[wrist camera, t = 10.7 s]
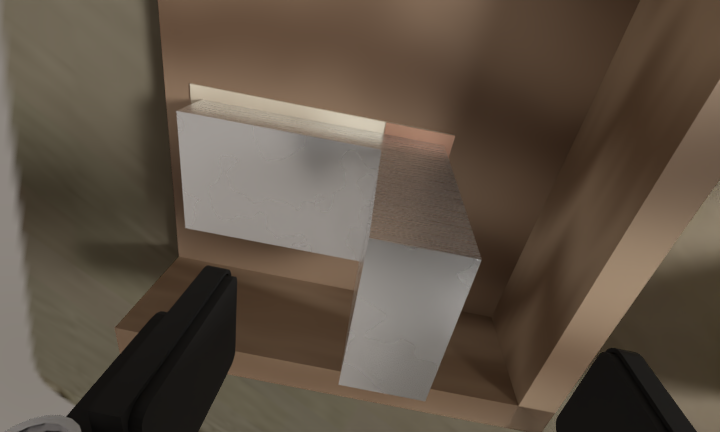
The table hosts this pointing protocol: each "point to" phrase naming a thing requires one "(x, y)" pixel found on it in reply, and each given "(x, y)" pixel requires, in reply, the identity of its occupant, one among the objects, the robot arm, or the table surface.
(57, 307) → the table surface
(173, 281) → the tray
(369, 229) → the bracket
